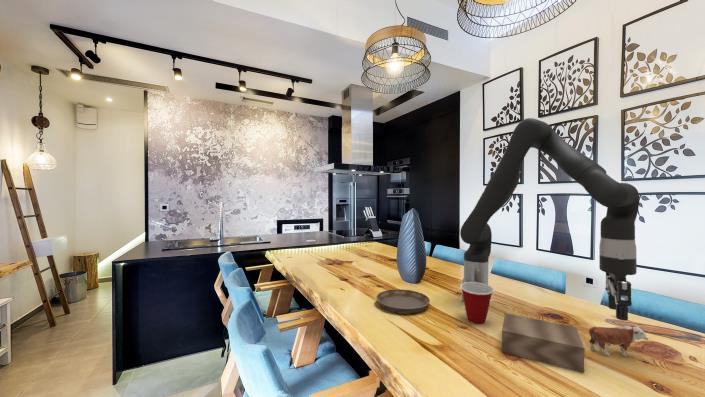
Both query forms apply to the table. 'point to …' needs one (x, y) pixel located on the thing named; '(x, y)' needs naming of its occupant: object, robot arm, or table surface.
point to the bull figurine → (615, 337)
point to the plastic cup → (476, 301)
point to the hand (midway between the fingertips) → (617, 314)
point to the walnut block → (543, 342)
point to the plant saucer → (403, 301)
